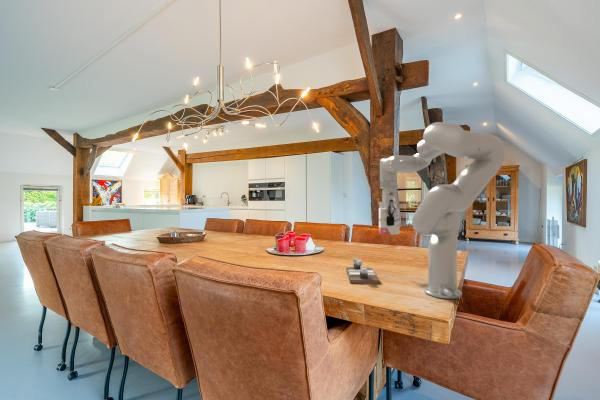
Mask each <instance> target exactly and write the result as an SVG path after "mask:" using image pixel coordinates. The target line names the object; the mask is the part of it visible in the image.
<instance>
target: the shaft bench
mask: <svg viewBox="0 0 600 400" xmlns="http://www.w3.org/2000/svg"><path fill="white" fill-rule="evenodd" d="M352 263H353V267H350V266H349V267H346V270H345V271H346V273H347V276H348V277H347V278H348V281H349V283H350V284H357V285H358V284H361V285H362V284H366V285H372V284H373V285H379V284H380V279H379V278H378V275H377V274H376V273H375V271H374V270H373V268H372V267H366V265H363V261H362V260H361V259H359V258H357V257H356V258H352Z"/></svg>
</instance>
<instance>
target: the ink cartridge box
mask: <svg viewBox="0 0 600 400" xmlns="http://www.w3.org/2000/svg"><path fill="white" fill-rule="evenodd" d="M378 205H379V206H378V207H379V208H378V233H379V234H380V235H400V223H401V222H400V208H398V207H397V210H395V208H394V226H387V210H386V209H385V208H383V202H382V201H379V202H378Z"/></svg>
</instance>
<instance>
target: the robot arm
mask: <svg viewBox="0 0 600 400" xmlns="http://www.w3.org/2000/svg"><path fill="white" fill-rule="evenodd" d="M422 134H423V135H422V138H423V139H421V140H420V141H418V143H417V145H416V151H417V153H415V154H413V155H400V154H397V155H395V154H394V155H391V156H389V157H384V158H381V159H380V161H379V189H382V192H381V193H382V195H381V197H382V198H381V202H383V208H385V209H386V210H387V226H394V208H395V210H397V208H398V197H397V189H398V174H413V173H417V172H420V171H421V170H424V169H425V168H426V167H428V166H430V164H431V162H432V161H433V159H435V158H437V157H439V156H441V155H443V154H446V155H448V156H450V157H454V158H458V159H469V160H470V159H471V160H472V162H471V163H470V164H468V165H467V166H466V167H464V169H463V170H461V172H460V173H459V175H458V177H457V178H456V179H455V180H454V182H452V183H450V184H448V183H447V184H438V185H435V186H434V187H432V188H431V189H430V190H429V191H428V192H427V194H426V195H425V196H424V197H423V199H422V201H421V202H420V204H419V205H418V206H417V208H416V210H415V212H414V213H413V216H412V220H411V223H412V224H411V226H412V228H413V231H414V232H416V234H418V235H421V236H430V238H429V241H428V246H427V247H428V248H427V249H428V252H427V253H428V255H427V256H428V262H427V263H428V266H427V267H428V276H427V277H428V285H426V286H424V287H423V292H424V293H425V294H427V295H428V296H431V297H433V298H434V297H435V298H439V299H445V300H447V299H448V300H449V299H450V300H453V299H459V298H461V297H462V296H463V292H462V291H461V290H460V289H459V288H458V237H459V236H458V235H459V233H460V225H461V219H460V216H459V214H458V213H461V212H465V211H467V210H468V209H469V208H471V206H472V205H473V203H474V202H475V201H476V200H477V198H478V197H479V196H480V195H481V194H482V192H483V191H484V190H485V188H486V186H487V185H488V184H489V183H490V182H491V180H492V179H493V178H494V177H495V176H496V174H497V173H498V172H499V170H500V169H501V167H502V166H503V164H504V161H505V159H506V148H505V145H504V143H503V141H502V140H501V139H500V138H499V137H498V136H496V135H494V134H491V133H487V132H482V131H481V132H480V131H471V130H464V128H463V127H462V126H460V125H459V124H456V123H449V122H443V121H438V122H437V121H436V122H433V123H431V124H429V125H428V126H427V127H426V128H425V129H424V132H423V133H422Z"/></svg>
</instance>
